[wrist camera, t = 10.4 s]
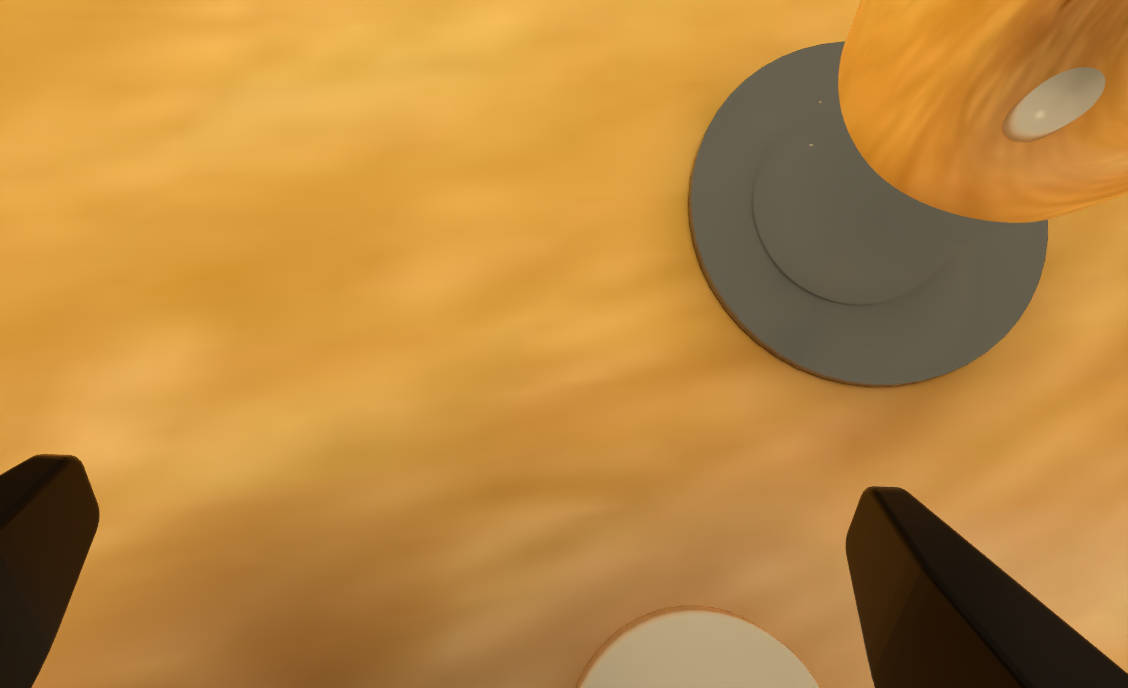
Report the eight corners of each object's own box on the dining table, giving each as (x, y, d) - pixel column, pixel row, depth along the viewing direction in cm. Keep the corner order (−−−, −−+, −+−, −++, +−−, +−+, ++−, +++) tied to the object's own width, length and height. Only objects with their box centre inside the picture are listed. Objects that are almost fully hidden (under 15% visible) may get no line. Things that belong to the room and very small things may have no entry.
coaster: (1024, 417, 24) (1037, 415, 23) (663, 350, 24) (666, 346, 23) (1045, 86, 26) (1057, 76, 25) (714, 23, 26) (719, 12, 25)
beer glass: (941, 98, 25) (1536, -480, 10) (980, 312, 24) (1728, 4, 9) (723, 109, 25) (1018, -476, 10) (751, 328, 23) (1138, 32, 8)
